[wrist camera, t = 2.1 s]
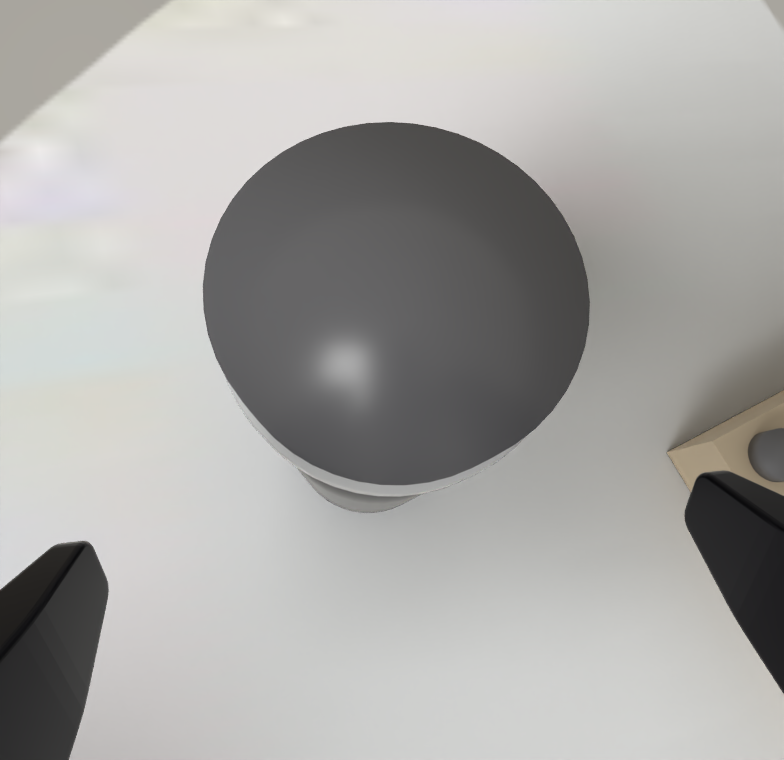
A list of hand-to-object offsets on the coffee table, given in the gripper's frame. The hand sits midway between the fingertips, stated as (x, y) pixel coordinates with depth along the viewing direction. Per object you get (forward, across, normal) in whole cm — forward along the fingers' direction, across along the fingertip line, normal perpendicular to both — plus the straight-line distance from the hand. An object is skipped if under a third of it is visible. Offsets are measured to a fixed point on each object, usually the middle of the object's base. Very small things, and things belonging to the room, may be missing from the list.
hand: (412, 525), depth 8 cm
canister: (+9, 0, +5) cm, 11 cm away
